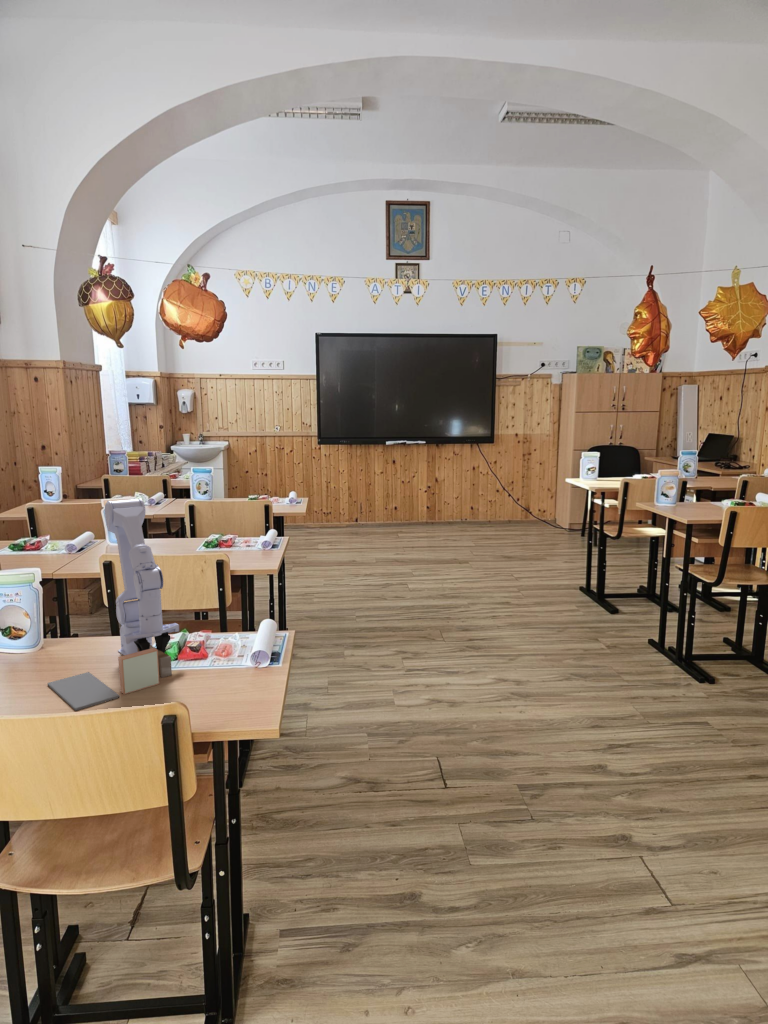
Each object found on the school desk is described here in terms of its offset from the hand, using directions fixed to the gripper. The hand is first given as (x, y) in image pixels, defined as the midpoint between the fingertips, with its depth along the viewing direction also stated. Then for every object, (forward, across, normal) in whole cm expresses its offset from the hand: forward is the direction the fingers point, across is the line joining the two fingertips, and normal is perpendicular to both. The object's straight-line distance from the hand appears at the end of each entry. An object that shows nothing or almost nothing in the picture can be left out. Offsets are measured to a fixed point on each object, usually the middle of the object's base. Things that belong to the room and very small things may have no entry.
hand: (153, 662), depth 172 cm
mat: (+1, -19, -2) cm, 19 cm away
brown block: (+1, 0, 0) cm, 1 cm away
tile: (+2, -8, -10) cm, 13 cm away
